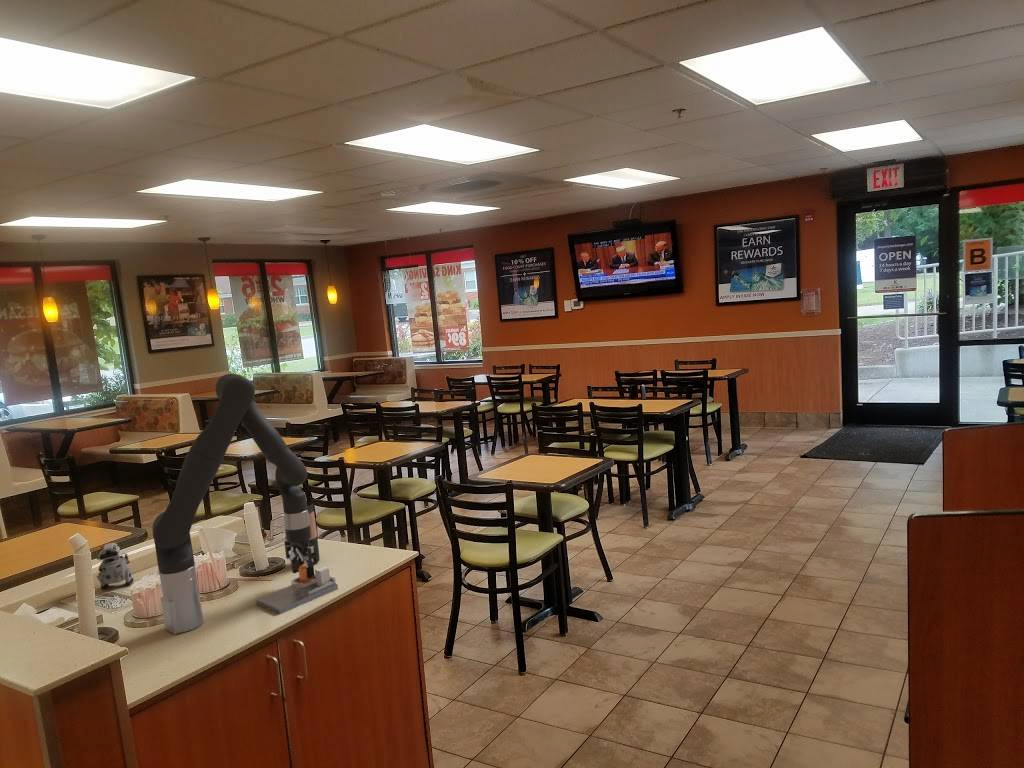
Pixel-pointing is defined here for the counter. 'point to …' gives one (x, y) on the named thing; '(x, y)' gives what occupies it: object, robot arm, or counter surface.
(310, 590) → the panel
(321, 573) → the block
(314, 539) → the travel mug
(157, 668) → the counter surface
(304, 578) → the cap
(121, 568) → the figurine
